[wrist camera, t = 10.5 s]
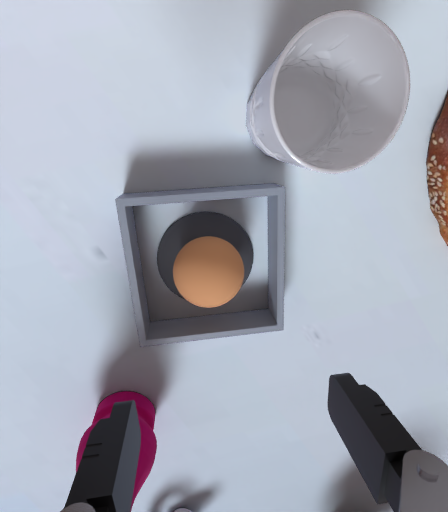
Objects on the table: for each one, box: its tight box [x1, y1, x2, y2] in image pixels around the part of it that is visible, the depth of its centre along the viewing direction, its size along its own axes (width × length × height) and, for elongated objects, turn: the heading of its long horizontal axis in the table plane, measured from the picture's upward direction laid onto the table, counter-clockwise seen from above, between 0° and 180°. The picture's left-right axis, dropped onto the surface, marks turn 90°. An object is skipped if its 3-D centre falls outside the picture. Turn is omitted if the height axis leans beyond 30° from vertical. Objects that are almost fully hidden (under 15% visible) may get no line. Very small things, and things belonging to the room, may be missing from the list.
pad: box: [157, 212, 253, 300], centre depth 29 cm, size 9×9×1 cm
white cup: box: [246, 10, 410, 174], centre depth 21 cm, size 8×8×10 cm
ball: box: [173, 236, 244, 308], centre depth 26 cm, size 6×6×6 cm
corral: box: [115, 183, 285, 347], centre depth 28 cm, size 13×13×3 cm
